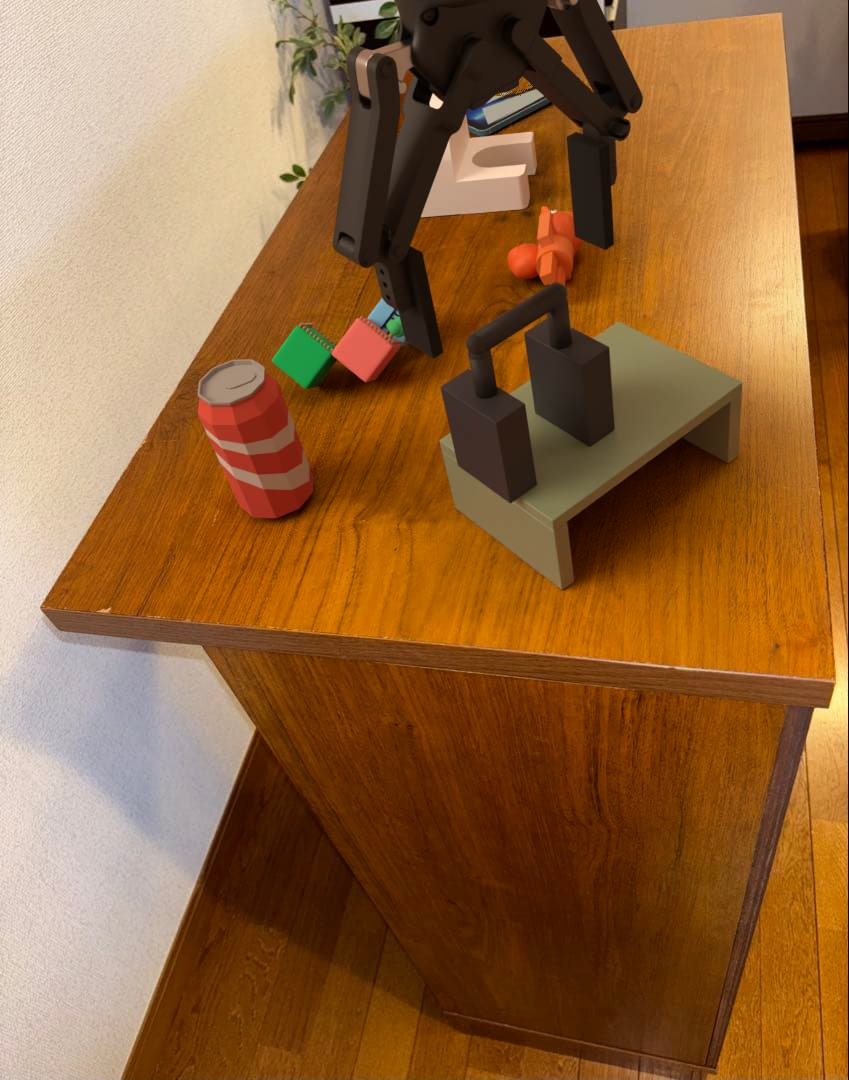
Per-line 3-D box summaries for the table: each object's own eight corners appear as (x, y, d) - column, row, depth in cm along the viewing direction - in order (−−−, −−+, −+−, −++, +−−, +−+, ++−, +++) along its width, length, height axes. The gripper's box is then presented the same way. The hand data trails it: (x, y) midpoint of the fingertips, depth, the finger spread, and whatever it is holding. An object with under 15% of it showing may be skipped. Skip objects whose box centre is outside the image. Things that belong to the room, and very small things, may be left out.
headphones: (615, 429, 68) (605, 287, 59) (510, 504, 65) (485, 365, 56) (559, 396, 71) (543, 258, 63) (457, 465, 68) (427, 329, 60)
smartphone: (447, 117, 121) (542, 67, 125) (449, 124, 122) (543, 75, 125) (482, 132, 116) (580, 81, 120) (483, 140, 117) (580, 88, 121)
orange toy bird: (568, 252, 86) (572, 184, 94) (492, 283, 89) (502, 215, 97) (590, 297, 89) (592, 228, 97) (516, 326, 92) (524, 256, 100)
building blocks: (359, 410, 93) (437, 309, 90) (338, 418, 86) (422, 307, 82) (295, 358, 93) (371, 254, 90) (268, 361, 85) (350, 247, 82)
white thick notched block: (366, 222, 109) (341, 124, 101) (384, 178, 115) (362, 83, 107) (527, 208, 104) (514, 105, 96) (537, 163, 110) (526, 63, 102)
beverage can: (327, 503, 78) (283, 385, 70) (252, 535, 77) (199, 419, 69) (303, 460, 83) (260, 344, 74) (233, 491, 82) (180, 376, 73)
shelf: (738, 455, 73) (742, 381, 68) (562, 590, 68) (552, 521, 63) (622, 391, 81) (618, 320, 76) (454, 508, 75) (438, 440, 70)
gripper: (597, -204, 50) (616, 184, 65) (178, -23, 42) (310, 369, 57) (712, -199, 45) (703, 218, 60) (265, 6, 38) (384, 424, 53)
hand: (512, 292), depth 59 cm, fingers open, 13 cm apart
